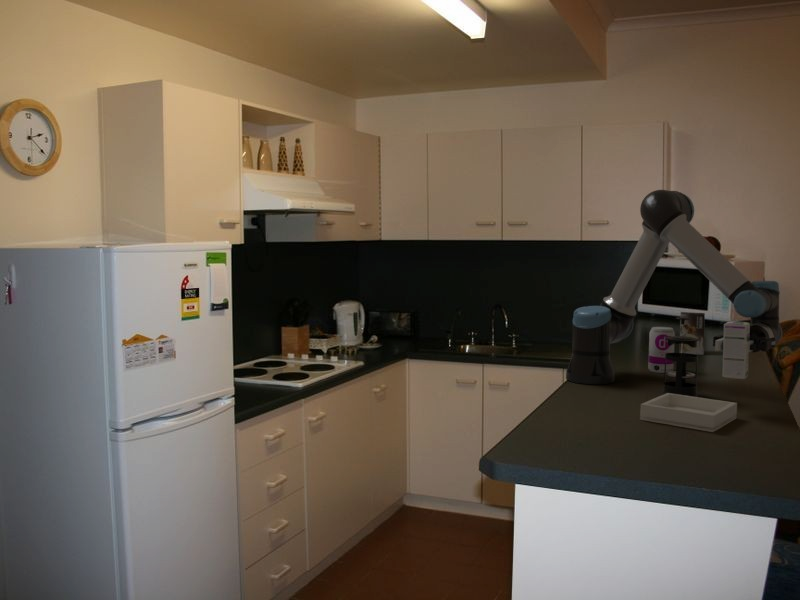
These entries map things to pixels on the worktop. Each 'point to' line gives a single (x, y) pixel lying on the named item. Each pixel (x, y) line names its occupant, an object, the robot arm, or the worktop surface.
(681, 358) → the french press
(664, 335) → the supplement can
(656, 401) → the bin
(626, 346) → the worktop surface
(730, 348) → the syrup box
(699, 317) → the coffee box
